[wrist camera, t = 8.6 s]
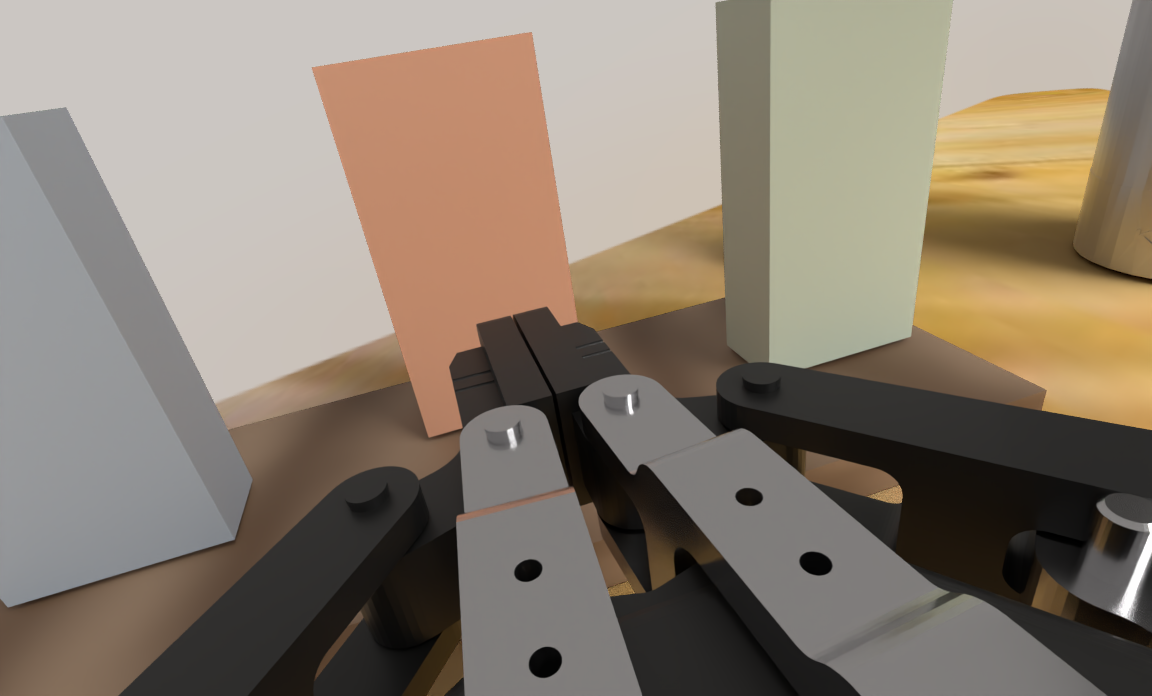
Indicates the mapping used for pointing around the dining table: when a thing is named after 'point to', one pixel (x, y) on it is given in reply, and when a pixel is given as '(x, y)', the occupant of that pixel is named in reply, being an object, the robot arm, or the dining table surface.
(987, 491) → the robot arm
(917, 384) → the brown wooden flat board
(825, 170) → the sage tab
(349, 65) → the terracotta tab
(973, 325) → the dining table surface
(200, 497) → the slate tab
